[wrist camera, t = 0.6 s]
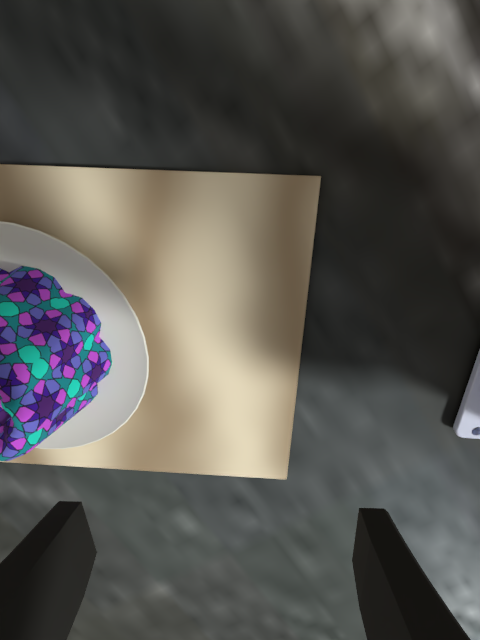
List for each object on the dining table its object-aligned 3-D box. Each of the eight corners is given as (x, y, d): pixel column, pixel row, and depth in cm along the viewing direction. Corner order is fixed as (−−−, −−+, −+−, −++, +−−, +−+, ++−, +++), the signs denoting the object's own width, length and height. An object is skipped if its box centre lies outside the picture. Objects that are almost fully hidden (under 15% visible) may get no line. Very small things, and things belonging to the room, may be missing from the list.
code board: (320, 175, 15) (321, 176, 15) (286, 476, 22) (286, 480, 22) (-368, 150, 16) (-377, 150, 16) (-192, 447, 23) (-196, 450, 23)
